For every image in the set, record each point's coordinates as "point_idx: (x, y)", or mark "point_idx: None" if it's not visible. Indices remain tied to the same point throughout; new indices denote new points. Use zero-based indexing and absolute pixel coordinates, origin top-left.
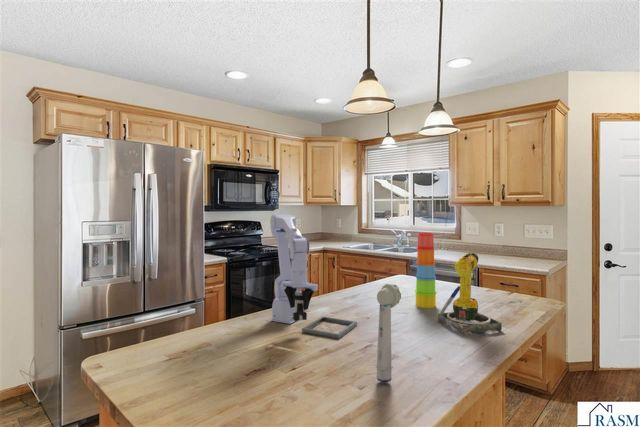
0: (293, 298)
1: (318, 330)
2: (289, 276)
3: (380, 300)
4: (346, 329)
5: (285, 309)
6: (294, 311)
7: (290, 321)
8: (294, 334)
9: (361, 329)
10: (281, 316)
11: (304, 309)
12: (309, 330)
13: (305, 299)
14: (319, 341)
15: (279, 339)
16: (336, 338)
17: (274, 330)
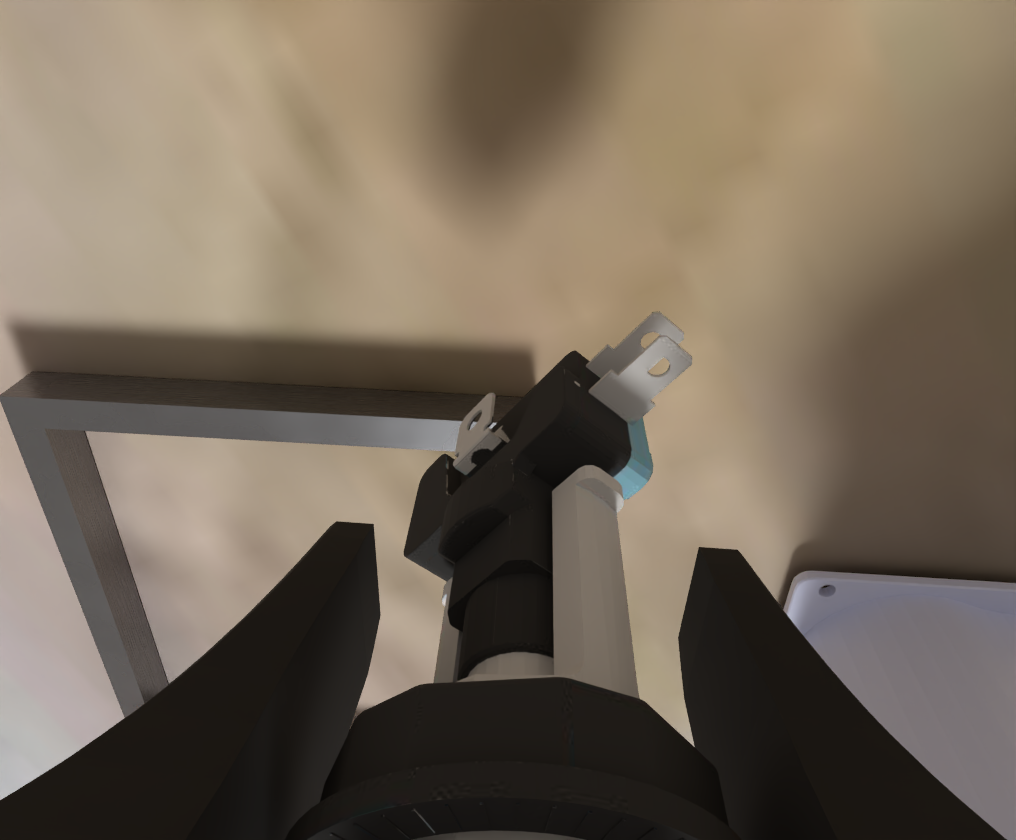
0: (684, 749)
1: (301, 434)
2: None
3: None
4: (68, 571)
5: (953, 731)
6: (603, 474)
7: (818, 613)
8: (594, 300)
9: (60, 667)
10: (970, 641)
11: (350, 526)
12: (420, 412)
13: (176, 706)
14: (160, 205)
15: (713, 10)
16: (62, 374)
17: (936, 326)
